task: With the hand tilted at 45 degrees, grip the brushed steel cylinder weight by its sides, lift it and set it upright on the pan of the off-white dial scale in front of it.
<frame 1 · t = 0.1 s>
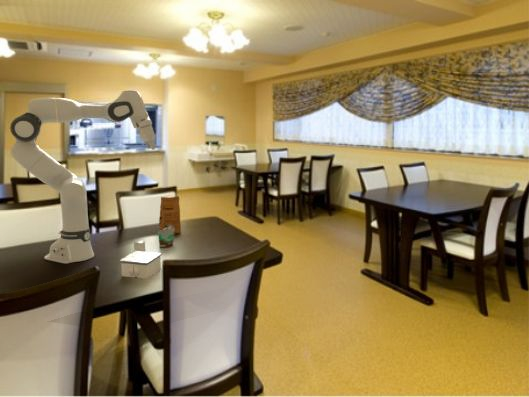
hand: (151, 148, 198), 52 cm above the table, tool tilted 20°, fingers open, 8 cm apart
coffee package: (170, 232, 236), on the table
food container: (168, 246, 210), on the table
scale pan: (141, 257, 171), point 7 cm above the table, slide at -0.5 cm
steel weight: (140, 260, 188), on the table
scale: (142, 272, 173), on the table
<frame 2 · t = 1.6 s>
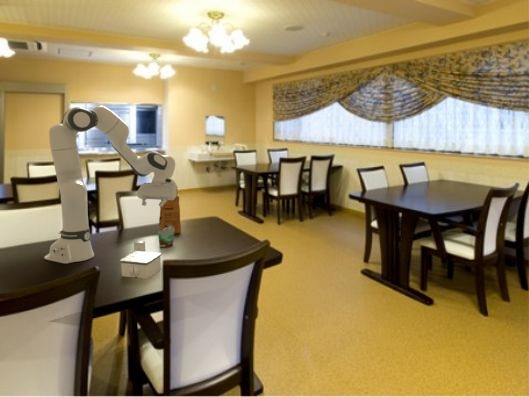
hand: (152, 205, 196), 24 cm above the table, tool tilted 45°, fingers open, 8 cm apart
nothing on the table moved.
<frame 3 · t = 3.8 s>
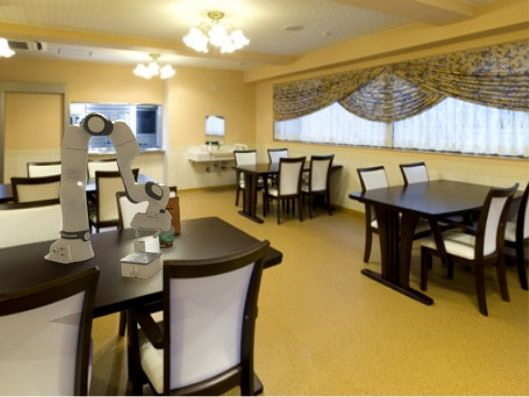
hand: (145, 237, 192), 10 cm above the table, tool tilted 45°, fingers open, 8 cm apart
nothing on the table moved.
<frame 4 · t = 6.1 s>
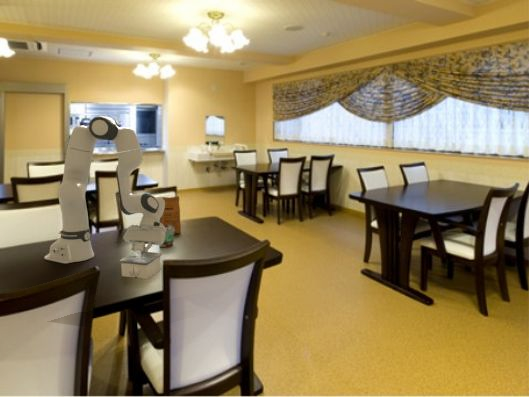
hand: (139, 250, 187), 5 cm above the table, tool tilted 45°, fingers closed on steel weight, 5 cm apart
steel weight: (140, 260, 188), on the table, touching gripper
everything else where it was.
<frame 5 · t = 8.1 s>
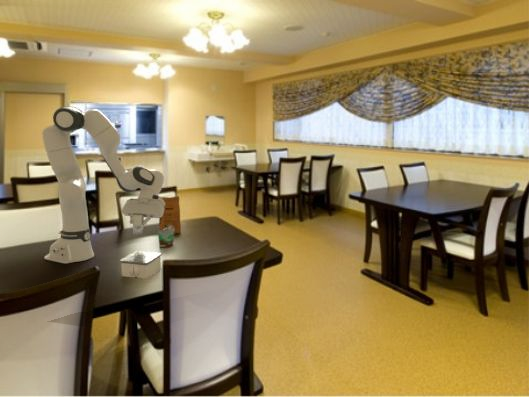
hand: (137, 223, 184), 18 cm above the table, tool tilted 45°, fingers closed on steel weight, 5 cm apart
steel weight: (138, 233, 185), point 13 cm above the table, touching gripper
everything else where it was.
when the fingers open (14 cm above the table, at t = 10.6 s): steel weight drops 2 cm, resting on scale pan.
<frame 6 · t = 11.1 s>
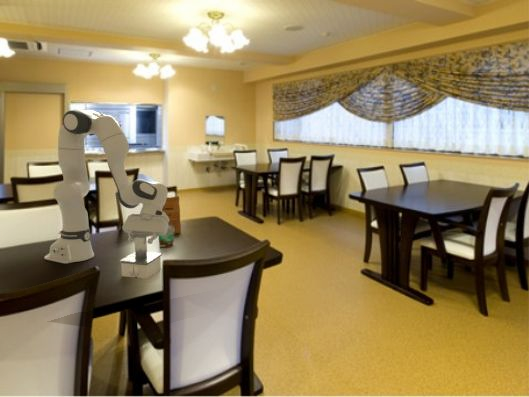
hand: (139, 242, 169), 14 cm above the table, tool tilted 45°, fingers open, 8 cm apart
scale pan: (141, 257, 171), point 7 cm above the table, slide at -0.6 cm, touching steel weight
steel weight: (141, 256, 171), point 7 cm above the table, touching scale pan
everything else where it was.
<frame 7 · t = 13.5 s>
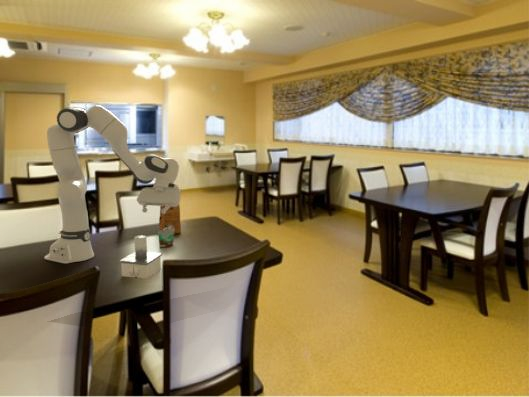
hand: (153, 212, 180), 24 cm above the table, tool tilted 45°, fingers open, 8 cm apart
nothing on the table moved.
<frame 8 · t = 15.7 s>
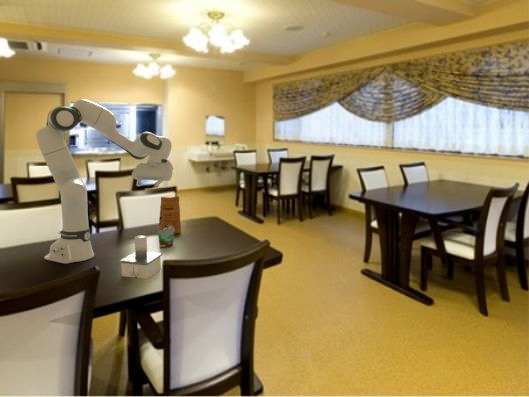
hand: (147, 185, 193), 34 cm above the table, tool tilted 45°, fingers open, 8 cm apart
nothing on the table moved.
at the end: steel weight inside the target area on the scale (0.1 cm from its centre), point 7.2 cm above the scale's base; steel weight tilted 1°; the gripper is holding nothing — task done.
